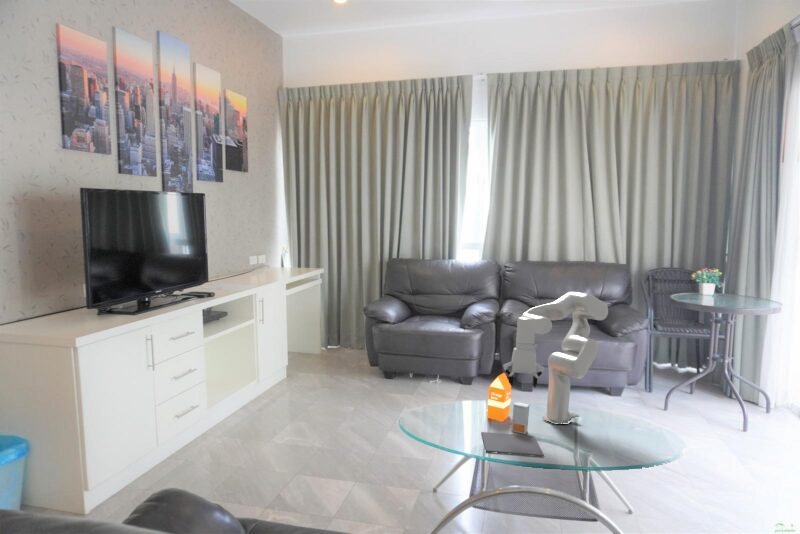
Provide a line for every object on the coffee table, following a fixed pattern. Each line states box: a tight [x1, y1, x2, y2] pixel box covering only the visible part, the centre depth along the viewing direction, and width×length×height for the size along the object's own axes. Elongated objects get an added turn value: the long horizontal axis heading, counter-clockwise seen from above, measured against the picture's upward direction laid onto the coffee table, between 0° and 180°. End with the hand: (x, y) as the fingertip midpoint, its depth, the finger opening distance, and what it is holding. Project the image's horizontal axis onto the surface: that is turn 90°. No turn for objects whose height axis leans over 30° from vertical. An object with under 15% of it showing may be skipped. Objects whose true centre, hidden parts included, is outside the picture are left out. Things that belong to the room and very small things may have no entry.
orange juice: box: [486, 372, 512, 422], centre depth 231 cm, size 8×9×20 cm
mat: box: [480, 431, 545, 457], centre depth 201 cm, size 22×18×1 cm
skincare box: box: [511, 401, 531, 435], centre depth 215 cm, size 6×4×12 cm
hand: (522, 385), depth 214 cm, fingers open, 9 cm apart
